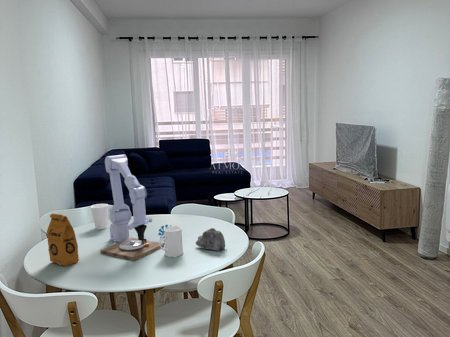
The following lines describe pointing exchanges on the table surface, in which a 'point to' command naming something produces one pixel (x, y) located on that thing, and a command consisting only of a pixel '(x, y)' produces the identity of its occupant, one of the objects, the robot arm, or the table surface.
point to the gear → (162, 231)
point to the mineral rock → (211, 240)
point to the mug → (172, 241)
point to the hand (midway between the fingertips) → (141, 240)
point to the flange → (133, 245)
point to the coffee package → (62, 241)
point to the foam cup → (100, 215)
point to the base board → (134, 254)
